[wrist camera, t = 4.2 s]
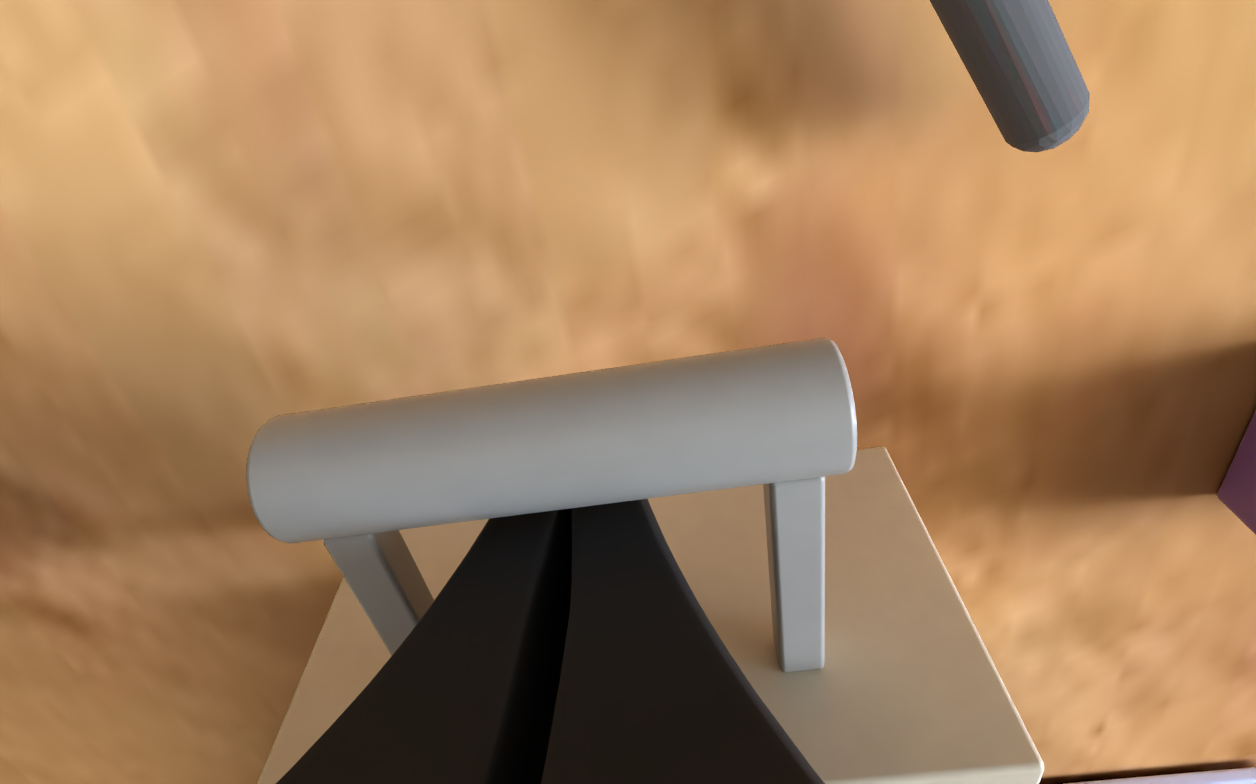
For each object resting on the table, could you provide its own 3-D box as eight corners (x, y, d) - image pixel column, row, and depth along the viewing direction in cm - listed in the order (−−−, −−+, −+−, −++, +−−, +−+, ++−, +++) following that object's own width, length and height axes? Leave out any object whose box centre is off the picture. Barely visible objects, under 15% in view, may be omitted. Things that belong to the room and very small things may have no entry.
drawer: (249, 285, 11) (-53, 587, 6) (904, 179, 10) (1175, 433, 5) (517, 792, 20) (485, 1068, 15) (863, 760, 19) (945, 1042, 14)
